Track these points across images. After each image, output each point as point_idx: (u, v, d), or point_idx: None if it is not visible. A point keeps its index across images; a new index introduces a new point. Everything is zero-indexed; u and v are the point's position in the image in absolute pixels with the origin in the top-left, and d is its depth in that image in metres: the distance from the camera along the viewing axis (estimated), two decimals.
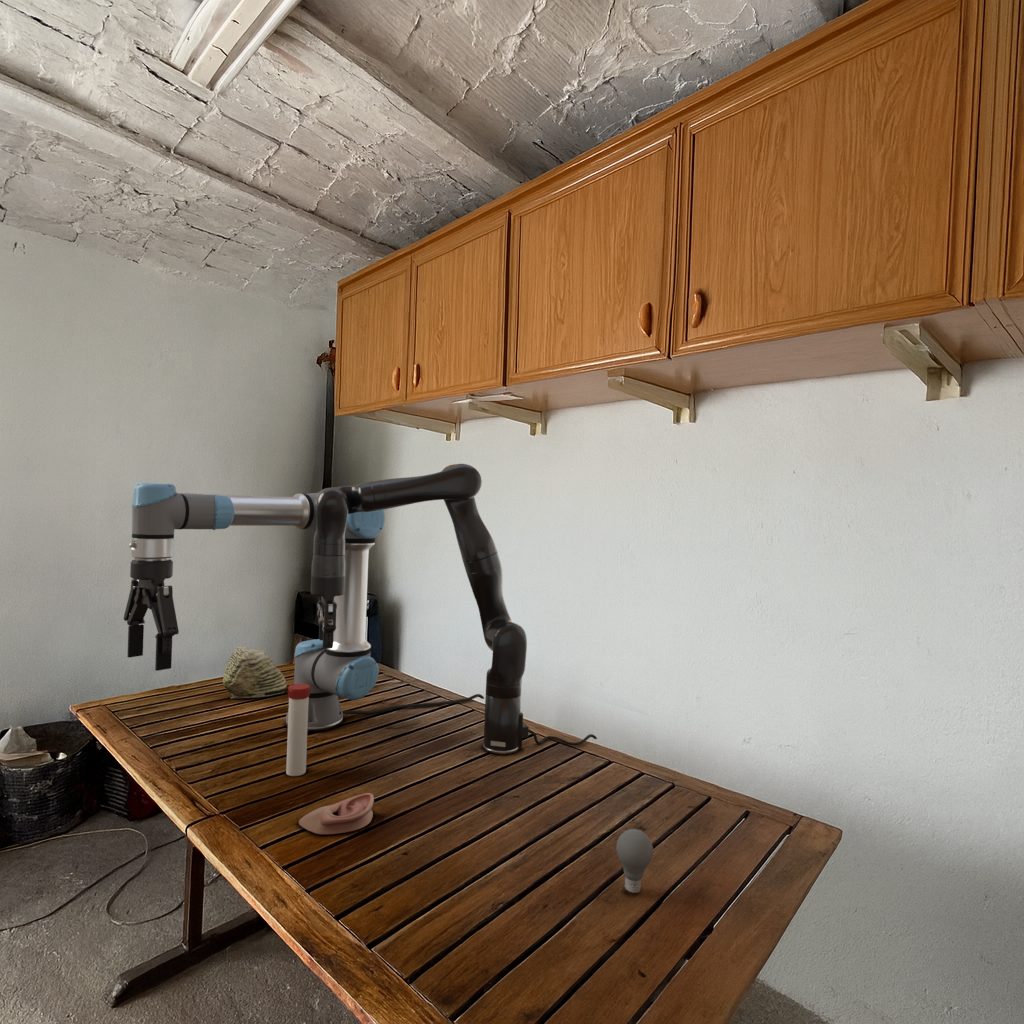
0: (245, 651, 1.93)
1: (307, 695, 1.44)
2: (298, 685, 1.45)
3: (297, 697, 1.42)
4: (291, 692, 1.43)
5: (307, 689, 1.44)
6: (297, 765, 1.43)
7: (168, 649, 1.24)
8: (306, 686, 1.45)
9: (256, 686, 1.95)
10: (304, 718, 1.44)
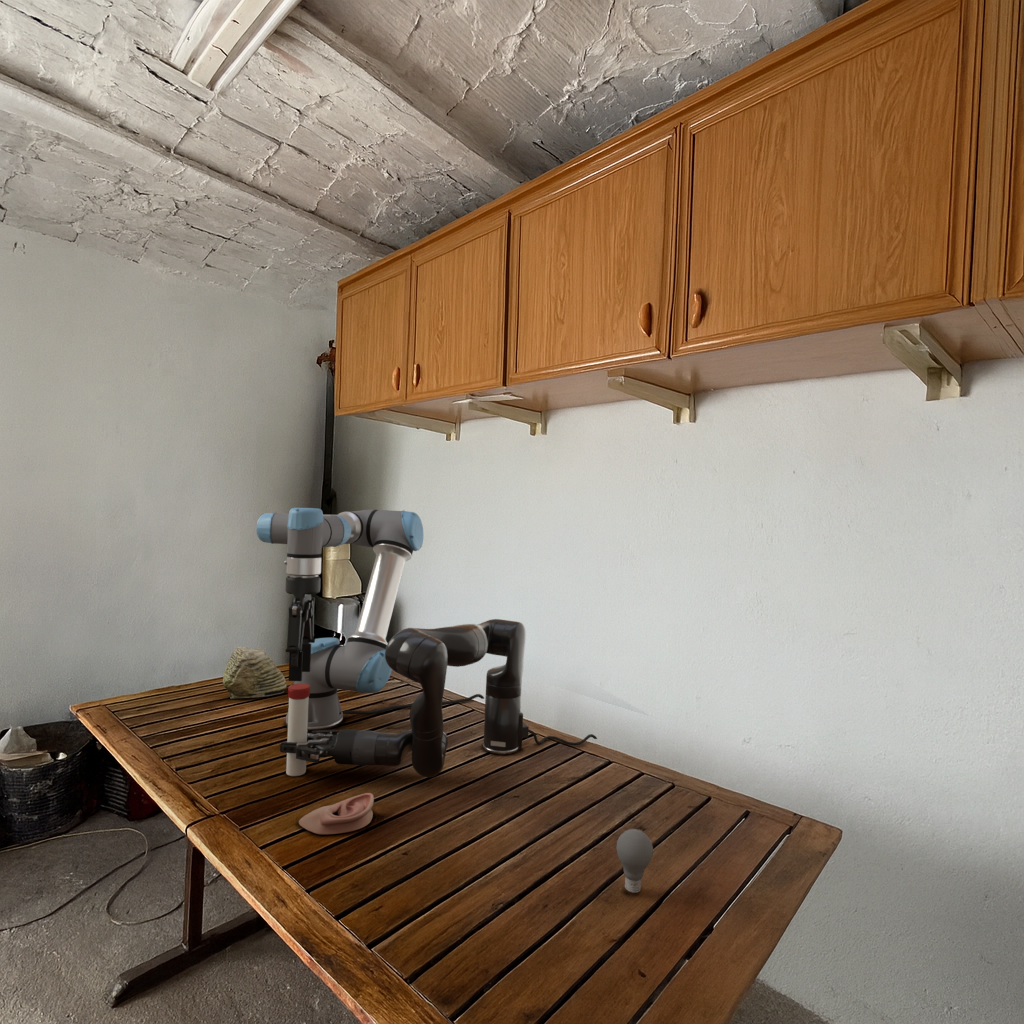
0: (245, 651, 1.93)
1: (307, 695, 1.44)
2: (298, 685, 1.45)
3: (297, 697, 1.42)
4: (291, 692, 1.43)
5: (307, 689, 1.44)
6: (297, 765, 1.43)
7: (295, 663, 1.39)
8: (306, 686, 1.45)
9: (256, 686, 1.95)
10: (304, 718, 1.44)
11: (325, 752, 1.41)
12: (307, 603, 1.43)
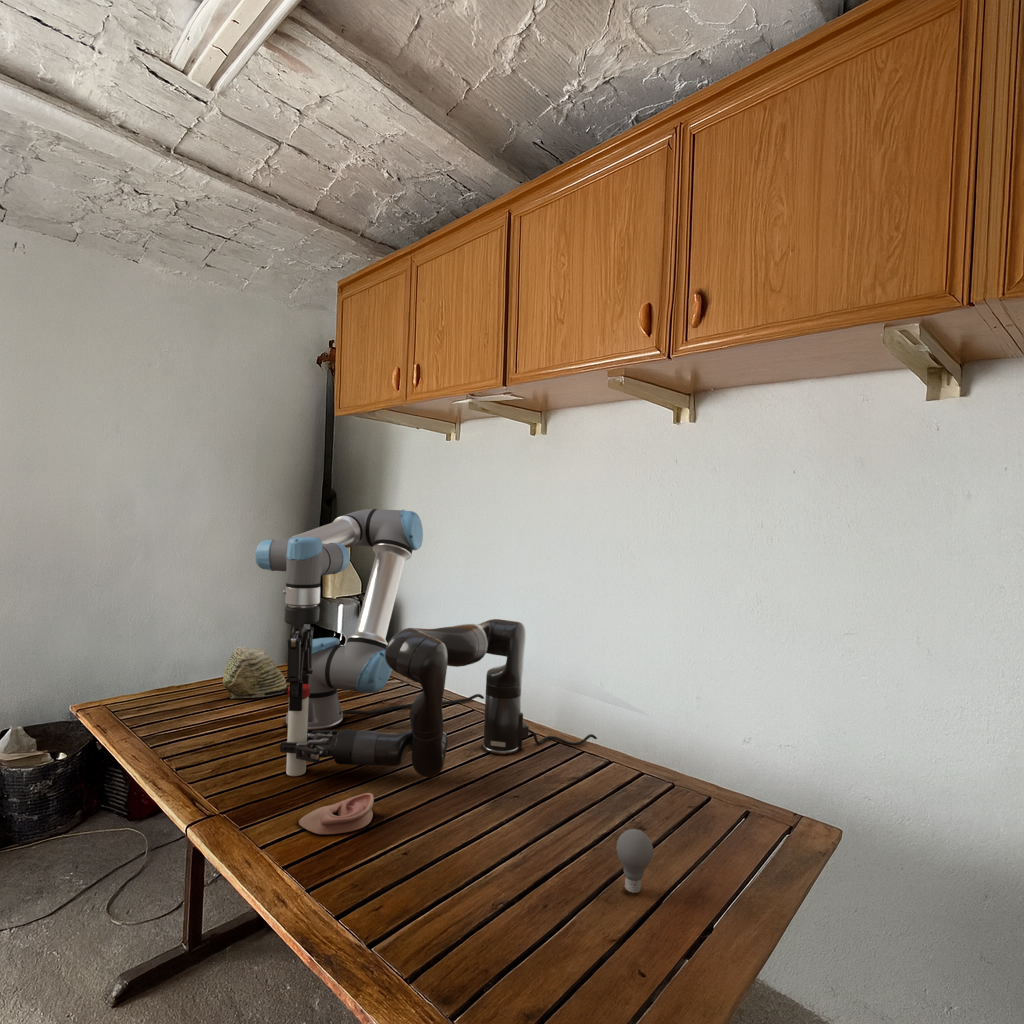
0: (245, 651, 1.93)
1: (307, 695, 1.44)
2: None
3: None
4: None
5: (307, 689, 1.44)
6: (297, 765, 1.43)
7: (295, 694, 1.41)
8: (306, 686, 1.45)
9: (256, 686, 1.95)
10: (304, 718, 1.44)
11: (325, 752, 1.41)
12: (306, 633, 1.43)
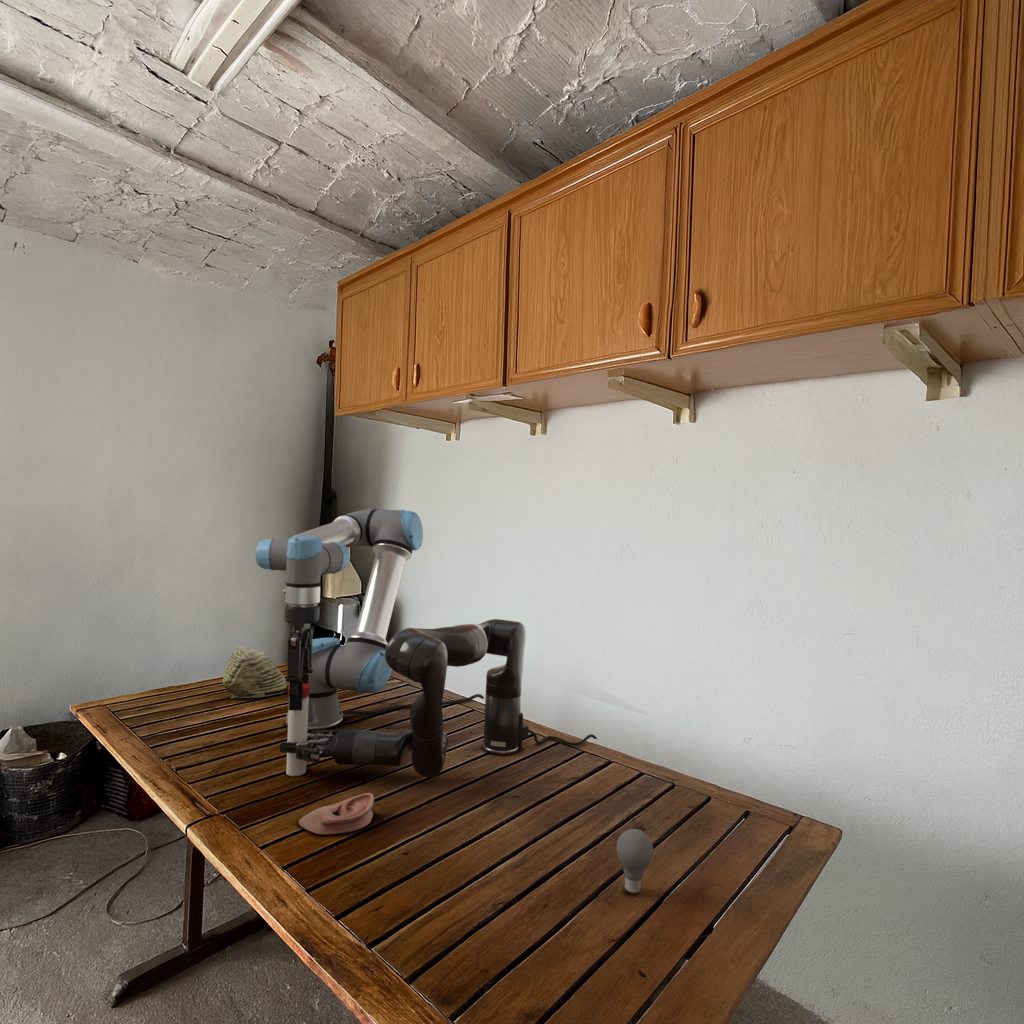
0: (245, 651, 1.93)
1: None
2: None
3: (309, 693, 1.45)
4: (307, 690, 1.44)
5: None
6: (297, 765, 1.43)
7: (295, 693, 1.41)
8: None
9: (256, 686, 1.95)
10: (304, 718, 1.44)
11: (325, 752, 1.41)
12: (306, 632, 1.43)
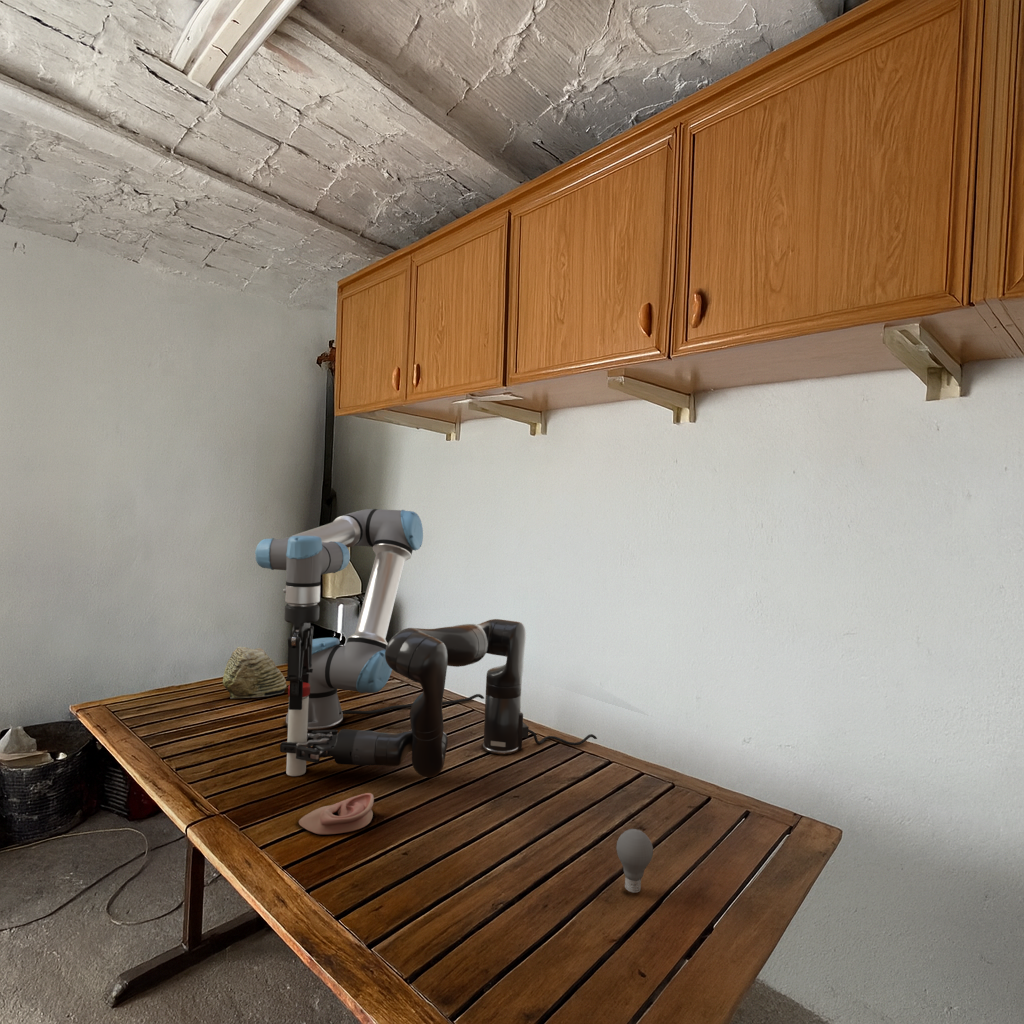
0: (245, 651, 1.93)
1: None
2: None
3: None
4: None
5: None
6: (297, 765, 1.43)
7: (295, 692, 1.41)
8: None
9: (256, 686, 1.95)
10: (304, 718, 1.44)
11: (325, 752, 1.41)
12: (306, 631, 1.43)
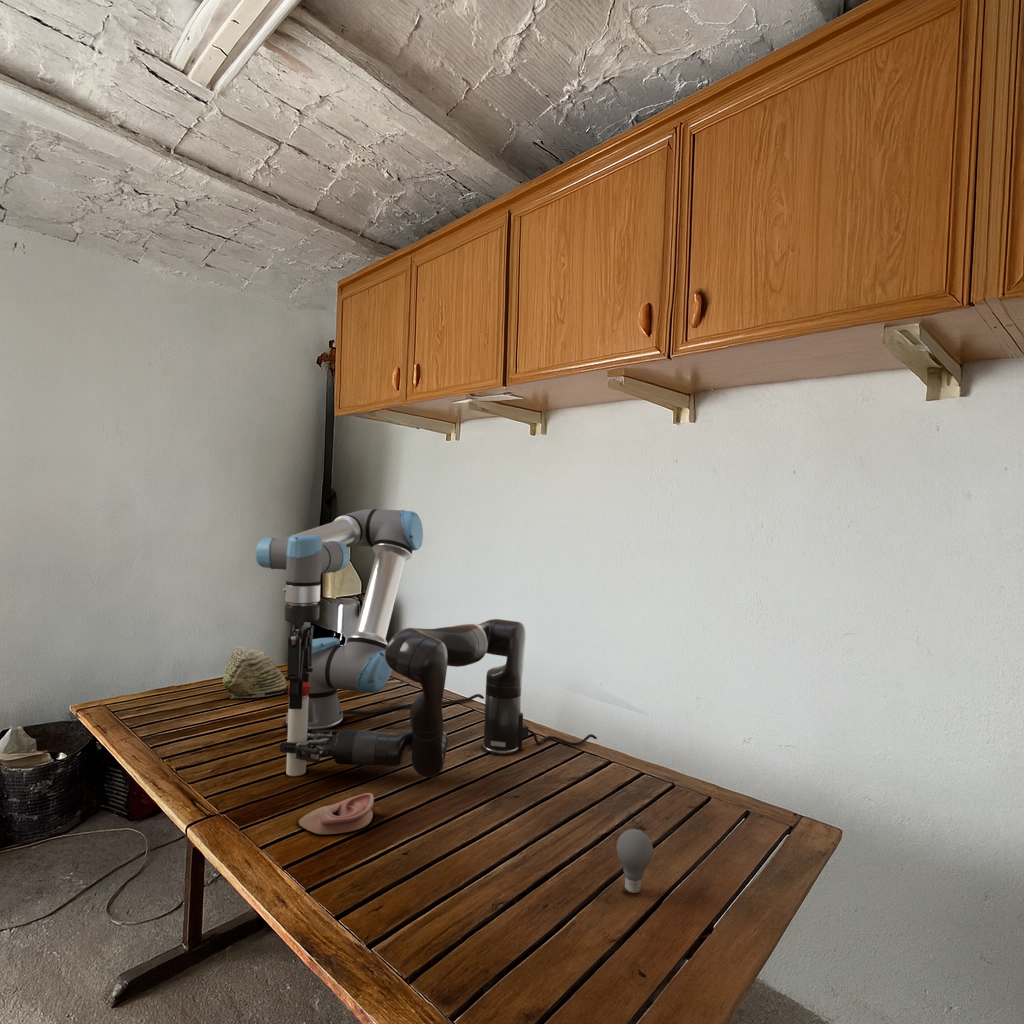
0: (245, 651, 1.93)
1: None
2: None
3: (288, 692, 1.44)
4: None
5: None
6: (297, 765, 1.43)
7: (295, 692, 1.41)
8: None
9: (256, 686, 1.95)
10: (304, 718, 1.44)
11: (325, 752, 1.41)
12: (306, 631, 1.43)
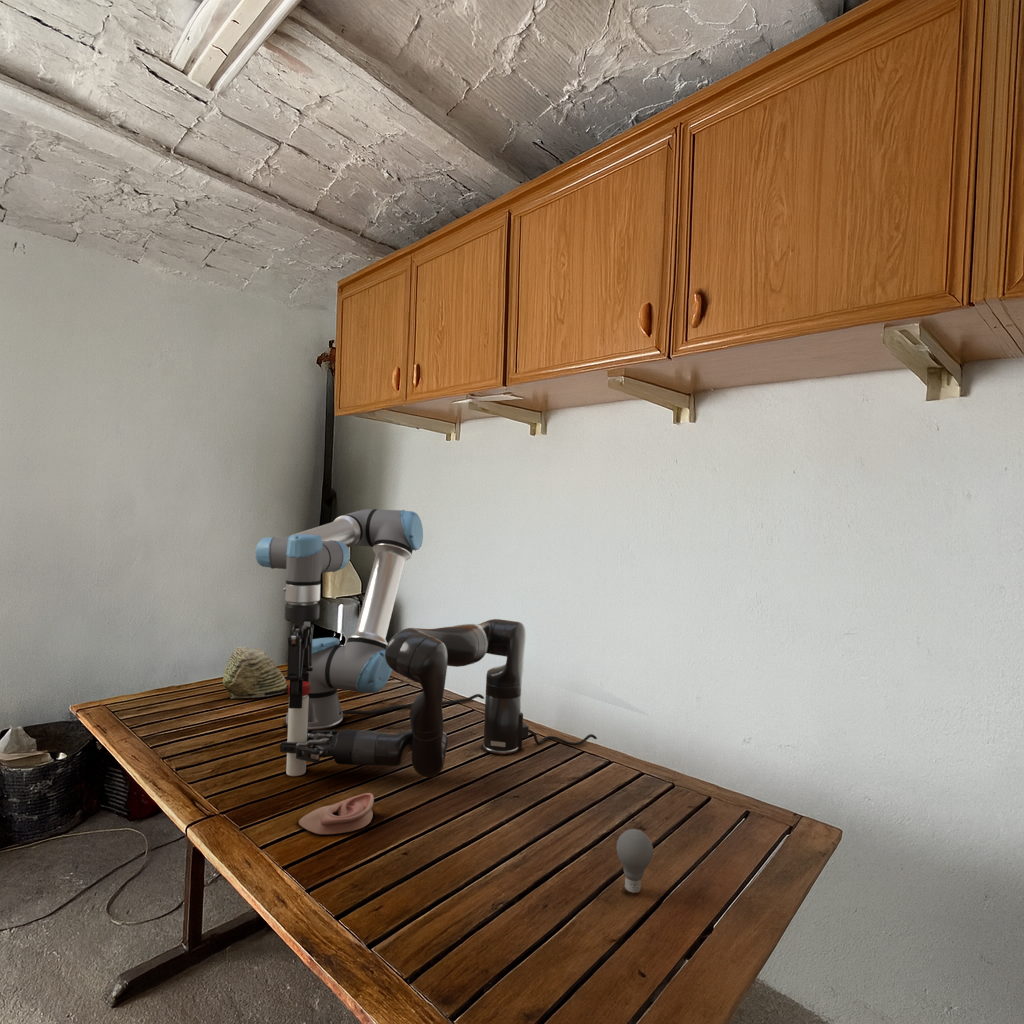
0: (245, 651, 1.93)
1: (308, 692, 1.44)
2: None
3: None
4: None
5: (308, 686, 1.44)
6: (297, 765, 1.43)
7: (295, 691, 1.41)
8: (306, 683, 1.45)
9: (256, 686, 1.95)
10: (304, 718, 1.44)
11: (325, 752, 1.41)
12: (306, 630, 1.43)
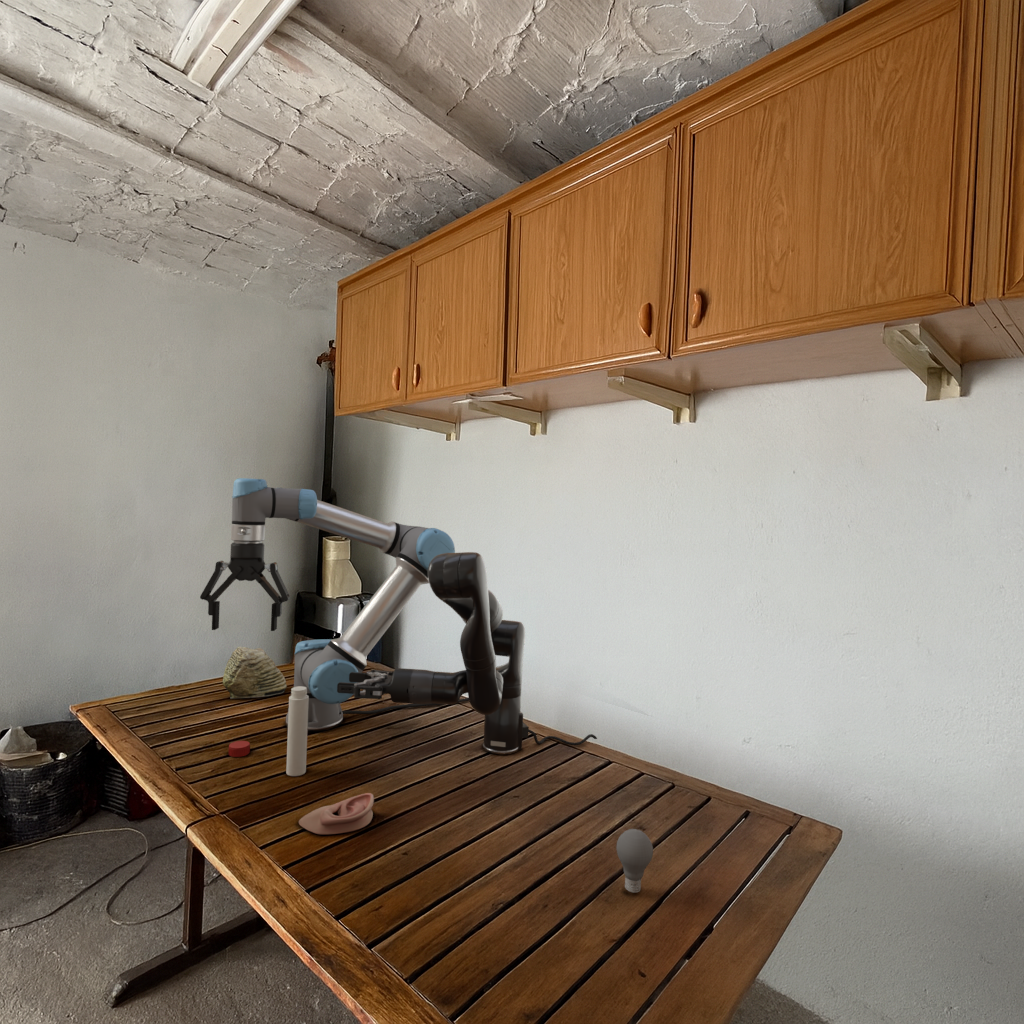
0: (245, 651, 1.93)
1: None
2: (240, 745, 1.53)
3: None
4: None
5: None
6: (297, 765, 1.43)
7: (280, 612, 1.55)
8: (232, 745, 1.53)
9: (256, 686, 1.95)
10: (304, 718, 1.44)
11: (383, 689, 1.40)
12: None
